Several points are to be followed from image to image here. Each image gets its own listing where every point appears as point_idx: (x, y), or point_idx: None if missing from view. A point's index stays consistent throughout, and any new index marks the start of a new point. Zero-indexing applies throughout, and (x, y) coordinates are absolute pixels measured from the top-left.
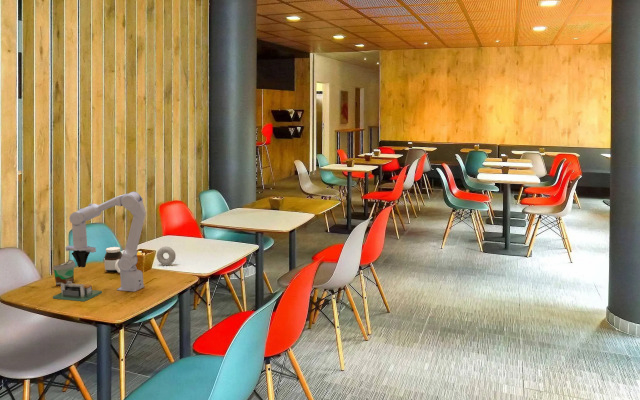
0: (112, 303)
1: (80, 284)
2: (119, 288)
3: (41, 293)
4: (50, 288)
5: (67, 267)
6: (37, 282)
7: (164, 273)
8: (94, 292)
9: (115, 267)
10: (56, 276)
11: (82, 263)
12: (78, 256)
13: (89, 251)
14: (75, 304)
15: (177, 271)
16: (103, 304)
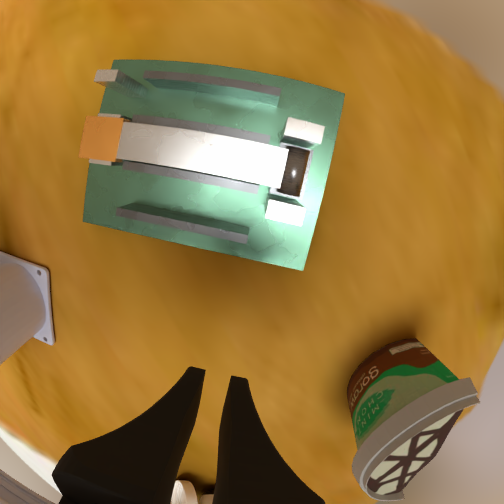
0: (8, 82)
1: (159, 157)
2: (42, 282)
3: (447, 203)
4: (432, 295)
5: (388, 429)
6: (488, 365)
7: (50, 446)
8: (106, 185)
9: (195, 497)
10: (434, 364)
11: (169, 390)
12: (222, 482)
13: (14, 485)
14: (150, 16)
15: (36, 450)
16: (33, 58)
